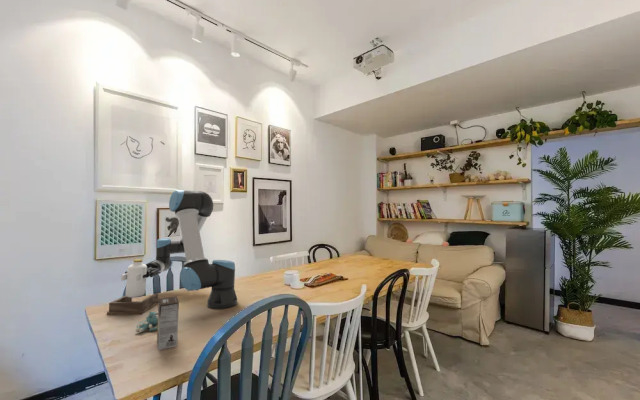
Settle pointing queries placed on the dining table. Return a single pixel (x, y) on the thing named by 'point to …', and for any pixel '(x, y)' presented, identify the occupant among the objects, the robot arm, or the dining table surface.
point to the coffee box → (167, 322)
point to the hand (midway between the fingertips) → (129, 278)
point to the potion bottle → (132, 285)
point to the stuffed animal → (149, 323)
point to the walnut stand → (132, 305)
